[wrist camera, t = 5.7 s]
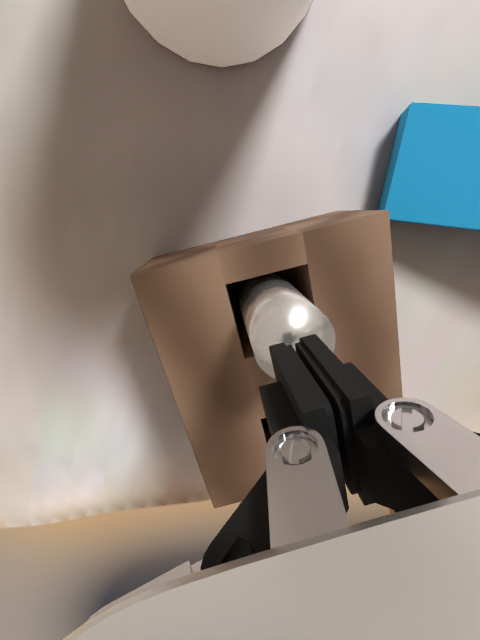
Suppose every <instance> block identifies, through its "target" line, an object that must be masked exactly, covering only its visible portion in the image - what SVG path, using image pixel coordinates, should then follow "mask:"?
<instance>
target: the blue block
mask: <svg viewBox="0 0 480 640" xmlns="http://www.w3.org/2000/svg"><path fill="white" fill-rule="evenodd" d="M378 210H389V216H390V221H399V222H408V223H417V224H426V225H434V226H443V227H452V228H461V229H469V230H478V231H480V107H478V106H461V105H445V104H429V103H413V102H412V103H411V104H410V105H409V106H408V107H407V109H406V110H405V111H404V112H403V113H402V114H401V116H400V120H399V125H398V129H397V133H396V137H395V141H394V146H393V150H392V154H391V158H390V162H389V167H388V171H387V175H386V179H385V183H384V188H383V192H382V196H381V200H380V205H379V209H378Z"/></svg>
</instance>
